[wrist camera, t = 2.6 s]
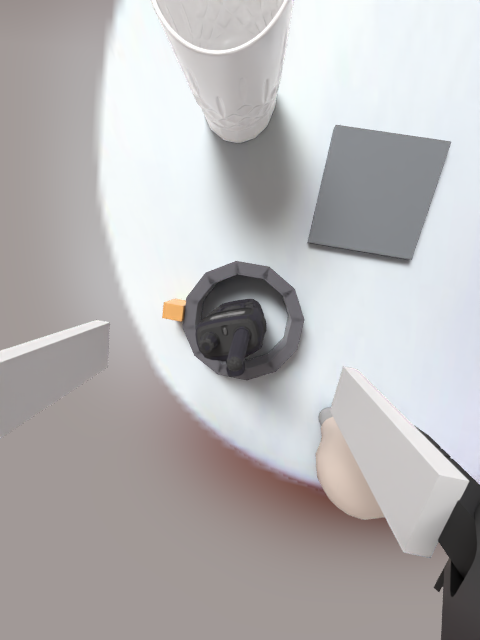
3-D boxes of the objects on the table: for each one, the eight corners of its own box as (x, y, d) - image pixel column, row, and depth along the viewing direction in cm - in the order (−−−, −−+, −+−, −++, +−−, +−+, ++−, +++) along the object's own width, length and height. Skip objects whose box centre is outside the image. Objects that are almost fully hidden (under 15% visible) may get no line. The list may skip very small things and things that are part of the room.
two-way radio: (261, 294, 24) (264, 331, 10) (268, 333, 25) (280, 420, 11) (212, 303, 25) (147, 350, 11) (220, 341, 26) (171, 432, 11)
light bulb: (303, 385, 26) (333, 465, 16) (361, 390, 26) (433, 475, 15) (297, 434, 28) (321, 538, 17) (353, 440, 27) (413, 549, 17)
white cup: (291, 57, 20) (322, -147, 10) (270, 158, 22) (279, 67, 12) (204, 42, 20) (152, -172, 10) (190, 142, 22) (135, 41, 12)
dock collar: (309, 274, 24) (316, 275, 21) (285, 377, 26) (288, 390, 23) (179, 251, 24) (168, 249, 21) (168, 354, 27) (157, 364, 24)
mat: (445, 145, 20) (451, 141, 20) (407, 259, 22) (411, 259, 22) (333, 128, 21) (335, 124, 20) (307, 242, 23) (308, 241, 22)
